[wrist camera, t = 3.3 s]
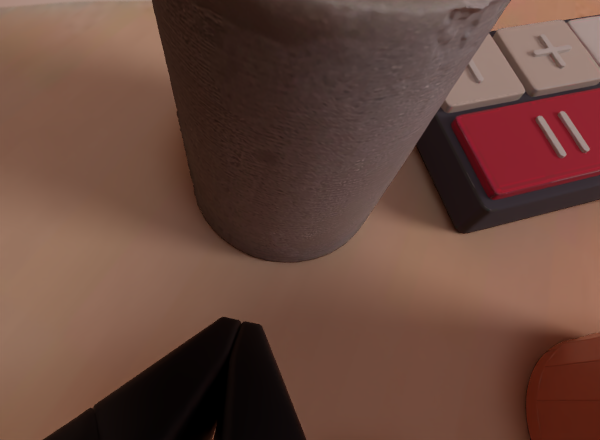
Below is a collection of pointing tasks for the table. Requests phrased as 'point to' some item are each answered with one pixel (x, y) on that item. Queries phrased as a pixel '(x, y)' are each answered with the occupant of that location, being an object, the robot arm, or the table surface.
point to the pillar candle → (308, 107)
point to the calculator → (520, 126)
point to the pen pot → (566, 392)
